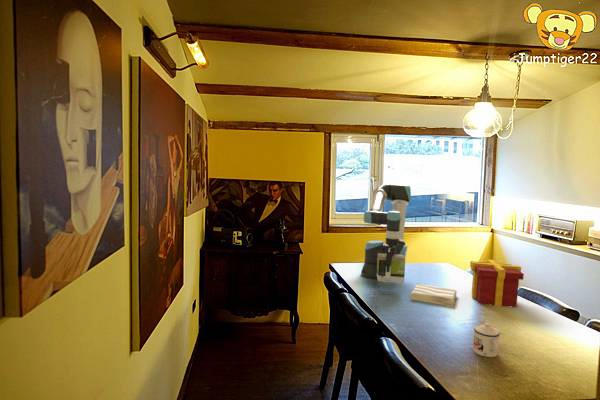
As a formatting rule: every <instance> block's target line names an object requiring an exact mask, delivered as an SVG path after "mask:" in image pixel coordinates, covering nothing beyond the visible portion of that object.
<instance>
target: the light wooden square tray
mask: <svg viewBox="0 0 600 400" xmlns="http://www.w3.org/2000/svg"><path fill="white" fill-rule="evenodd" d="M456 298H457V290H456V289H455V288H454V289H453V288H446V287H441V286H434V285H427V284H422V283H421V284H420V283H417V284H416V285H415V287H414V288H413V290H412V291H411V293H410V300H413V301H418V302H425V303H429V304H434V305H435V304H437V305H441V306H447V307H455V302H456Z"/></svg>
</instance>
